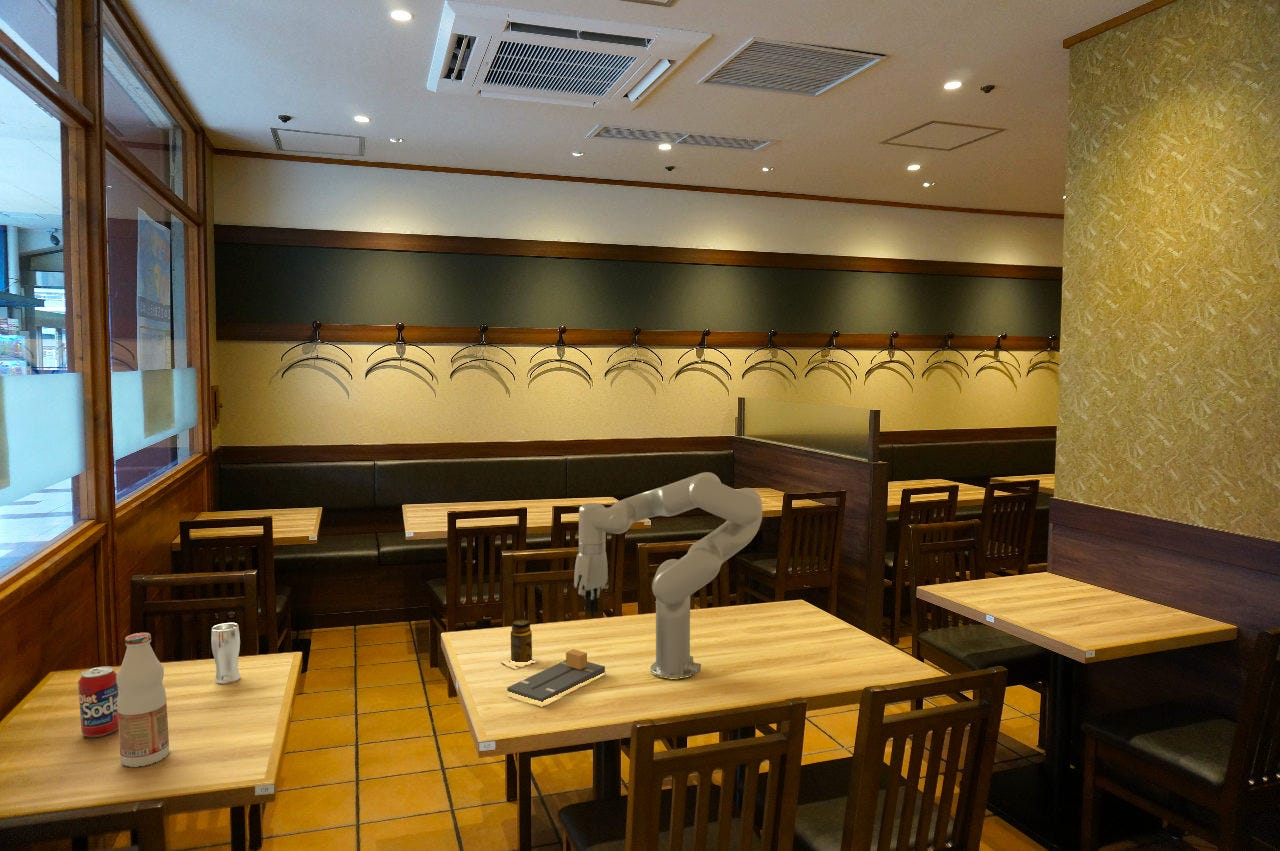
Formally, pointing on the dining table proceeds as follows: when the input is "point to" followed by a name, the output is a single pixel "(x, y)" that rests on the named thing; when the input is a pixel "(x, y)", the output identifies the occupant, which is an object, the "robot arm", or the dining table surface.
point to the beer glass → (226, 652)
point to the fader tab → (576, 659)
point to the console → (555, 680)
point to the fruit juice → (141, 704)
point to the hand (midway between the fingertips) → (591, 611)
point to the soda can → (98, 701)
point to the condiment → (521, 641)
